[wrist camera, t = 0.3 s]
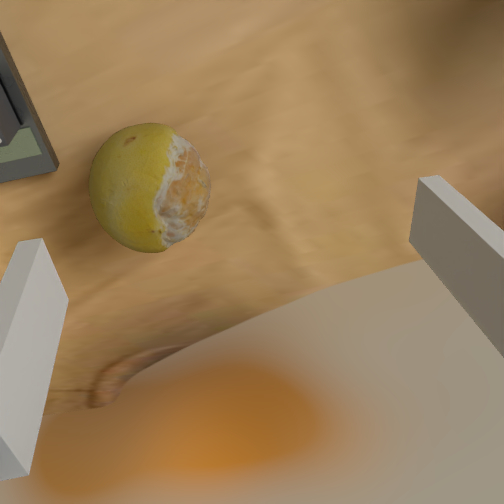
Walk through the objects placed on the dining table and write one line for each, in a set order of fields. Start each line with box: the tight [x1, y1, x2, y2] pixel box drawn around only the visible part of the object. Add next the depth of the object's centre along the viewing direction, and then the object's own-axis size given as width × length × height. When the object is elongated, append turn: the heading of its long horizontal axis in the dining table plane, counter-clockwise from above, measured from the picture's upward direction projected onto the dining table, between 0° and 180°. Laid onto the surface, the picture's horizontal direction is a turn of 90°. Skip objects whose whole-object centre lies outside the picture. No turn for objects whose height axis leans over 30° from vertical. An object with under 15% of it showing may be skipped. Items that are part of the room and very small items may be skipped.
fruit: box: [89, 123, 211, 253], centre depth 39 cm, size 10×11×10 cm
